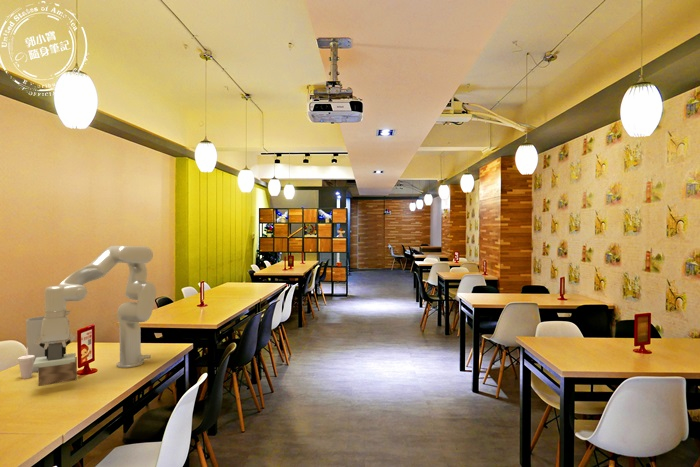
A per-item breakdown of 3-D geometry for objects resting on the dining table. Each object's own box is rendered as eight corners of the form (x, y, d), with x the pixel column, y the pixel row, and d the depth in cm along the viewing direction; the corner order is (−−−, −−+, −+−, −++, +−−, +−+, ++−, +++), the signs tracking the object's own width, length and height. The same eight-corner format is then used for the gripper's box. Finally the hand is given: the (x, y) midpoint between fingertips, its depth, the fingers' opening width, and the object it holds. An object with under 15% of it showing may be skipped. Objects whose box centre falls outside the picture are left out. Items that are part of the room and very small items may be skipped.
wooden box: (76, 373, 206) (76, 356, 206) (76, 380, 196) (76, 362, 196) (41, 378, 199) (40, 361, 199) (38, 385, 189) (38, 367, 189)
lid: (75, 357, 194) (75, 339, 194) (74, 363, 184) (74, 344, 185) (36, 362, 187) (36, 343, 187) (33, 369, 177) (33, 349, 177)
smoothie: (25, 380, 197) (25, 349, 197) (14, 379, 198) (14, 349, 198) (38, 375, 203) (38, 346, 203) (27, 375, 204) (27, 345, 204)
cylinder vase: (55, 370, 212) (54, 319, 212) (24, 374, 206) (23, 321, 206) (59, 363, 223) (59, 315, 223) (30, 366, 217) (29, 317, 217)
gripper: (78, 311, 194) (78, 352, 193) (32, 315, 185) (32, 357, 185) (78, 314, 187) (78, 356, 187) (30, 318, 178) (29, 362, 178)
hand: (55, 356), depth 186 cm, fingers closed on lid, 4 cm apart
